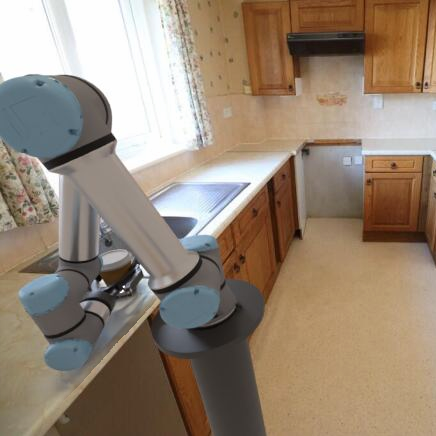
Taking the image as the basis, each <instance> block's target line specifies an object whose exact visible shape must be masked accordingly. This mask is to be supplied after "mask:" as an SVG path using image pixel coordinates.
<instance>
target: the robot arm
mask: <svg viewBox="0 0 436 436" xmlns="http://www.w3.org/2000/svg"><path fill="white" fill-rule="evenodd" d="M112 129H113V112H112V107H111V104H110V102H109V100H108V98H107V96H106V95H105V94H104V92H103V91H102V90H101V89H100V88H99V87H97V86H96V85H95V84H94V83H92V82H91V81H88V80H87V79H85V78H82V77H79V76H76V75H71V74H53V75H52V74H49V75H48V74H40V73H28V74H26V75H22V76H17V77H12V78H8V79H7V80H4V81H3V82H1V83H0V140H1V141H2V142H3V143H5V144H6V146H7V147H9V148H11V149H12V150H14V151H16V152H18V153H20V154H24V155H26V156H30V157H32V158H36V159H37V160H38V161H39V162H40V163H41V164H42V165H43V166H44V168H45V169H47V171H48V172H49V173H52V174H57V175H58V267H57V269H56V270H55V272H54V273H51V274H46V275H43V276H39V277H37V278H35V279H33V280H31V281H30V282H29V283H27V284H24V286H22V287H21V289H20V290H19V292H18V299H19V301H20V302H21V304H22V306H23V309H24V310H25V312H26V314H28V315H29V316H30V318H31V319H32V321H33V322H34V323H35V325H36V326H37V327H38V329H39V330H40V332H41V333H42V334H43V337H44V339H46V341H47V342H48V344H49V345H48V346H47V347H46V350H45V352H44V354H43V355H44V356H43V359H44V360H43V361H44V363H45V365H46V366H48V367H49V368H50V369H53V370H55V371H61V372H67V371H68V372H69V371H72V370H76V369H78V368H80V367H81V366H83V365H85V363H86V362H87V360H88V358H89V357H90V355H91V354H92V353H93V351H94V349H95V347H96V344H97V343H98V341H99V338H100V337H101V334H102V332H103V330H104V328H105V326H106V325H107V322H108V320H109V319H110V316H111V315H112V313H113V311H114V309H115V307H116V303H117V301H118V300H119V299H120V298H121V297H123V296H122V295H125V296H126V297H127V298H128V297H131V296H133V293H134V291H135V289H136V287H137V286H138V285H139V284H140V283H141V281H142V280H143V279H144V277H145V275H144V272H143V269H144V271H145V272H146V273H147V274H148V275H149V278H148V281H147V286H148V288H149V289H150V291H151V292H152V293H153V294H154V295H155V296H156V298H158V300H159V301H160V303H159V307H158V311H159V310H160V316H161V318H162V319H163V320H164V322H166V323H167V324H169V325H170V326H173V327H176V328H187V329H188V328H191V329H195V330H204V329H210V328H213V327H216V326H218V325H221V324H222V323H224V322H226V321H227V320H228V319H230V318H231V317H232V316H233V314H234V313H235V311H236V309H237V307H239V308H242V306H241V305H239V304H237V300H236V296H235V295H234V293H233V292H232V291H231V289H230V288H229V286H228V285H227V283H226V280H225V279H226V276H225V271H224V266H223V262H222V257H221V252H220V245H219V244H218V239H217V237H215V236H213V235H211V234H194V235H190V236H186V237H183V238H180V239H179V238H178V236H177V235H176V234H175V233H174V232H173V230H172V229H171V227H170V225H169V224H168V223H167V222H166V220H165V219H164V218H163V216H162V215H161V213H160V211H158V209H157V208H156V207H155V205H154V203H152V202H151V200H150V199H149V197H148V195H147V194H146V193H145V191H144V190H143V189H142V187H141V186H140V184H139V183H138V182H137V180H136V179H135V178H134V176H133V175H132V174H131V172H130V171H129V170H128V168H127V167H126V165H125V164H124V163H123V161H122V160H121V159H120V157H119V156H118V155H117V152H116V149H117V144H118V139H117V138H116V137H115V135H114V134H113V132H112ZM101 220H103V222H104V223H105V224H106V225H107V227H108V228H110V230H111V231H112V233H113V234H114V235H115V237H117V238H118V240H119V241H120V242H121V243H122V244H123V245H124V247H125V248H126V250H127V251H128V252H129V253H130V254H131V256H133V257H134V258H133V260H132V261H131V266H130V268H129V272H128V273H126V274H125V275H124V276H123V277H121V278H120V279H119V280H118V281H116V282H113V283H111V284H110V285H109V286H106V285H105V286H99V285H98V284H97V281H98V282H102V280H103V279H102V278H101V276H100V272H101V268H102V266H103V258H102V257H101V254H100V238H101V237H100V235H101ZM140 266H141V267H142V268H143V269H142V268H141V267H140ZM90 286H91V289H89V287H90ZM88 290H91V291H88ZM133 290H134V291H133ZM126 294H127V295H126ZM120 296H121V297H120Z"/></svg>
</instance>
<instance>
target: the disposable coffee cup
mask: <svg viewBox="0 0 436 436" xmlns="http://www.w3.org/2000/svg"><path fill="white" fill-rule="evenodd" d="M100 255H101V257H102V258H103V266H102V268H101V272H100V276H101V278H102V280H103V282H104V284H105V287H106V286H109V285H110V284H111V283H113V282H116V281H118V280H119V279H120V278H121V277H123V276H124V275H125V274H126V273H128V272H129V268H130V266H131V264H132V254H131V253H130V252H129V250H128V249H123V248H122V249H121V248H120V249H113V250H108V251H106V252H103V253H101V254H100ZM134 291H135V289H134V290H133V292H134ZM125 296H127V294H126V295H122V296H120V298H122V297H125Z"/></svg>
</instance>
